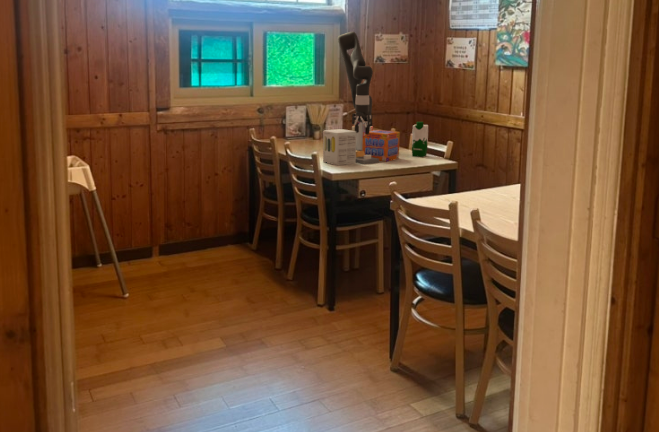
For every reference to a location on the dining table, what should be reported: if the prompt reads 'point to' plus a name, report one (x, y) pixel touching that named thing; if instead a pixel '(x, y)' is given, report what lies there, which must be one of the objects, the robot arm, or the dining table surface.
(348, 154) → the supplement box
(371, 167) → the dining table surface
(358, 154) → the breaker paddle
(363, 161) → the breaker panel
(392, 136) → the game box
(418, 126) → the milk carton
